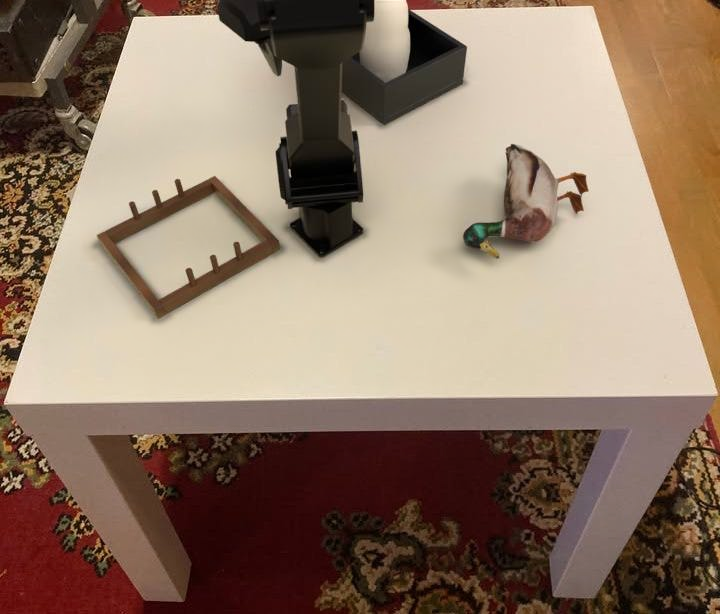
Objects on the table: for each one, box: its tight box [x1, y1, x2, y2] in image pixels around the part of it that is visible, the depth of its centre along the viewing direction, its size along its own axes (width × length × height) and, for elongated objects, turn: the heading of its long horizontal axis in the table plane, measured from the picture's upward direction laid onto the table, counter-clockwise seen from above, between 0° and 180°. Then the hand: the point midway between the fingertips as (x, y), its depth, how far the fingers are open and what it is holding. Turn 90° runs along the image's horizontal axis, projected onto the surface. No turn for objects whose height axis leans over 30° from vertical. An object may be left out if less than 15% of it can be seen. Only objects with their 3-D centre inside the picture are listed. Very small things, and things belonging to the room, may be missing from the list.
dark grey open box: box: [341, 8, 468, 126], centre depth 101 cm, size 17×15×6 cm
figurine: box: [359, 0, 410, 83], centre depth 98 cm, size 7×8×12 cm
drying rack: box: [96, 175, 281, 319], centre depth 82 cm, size 14×16×4 cm
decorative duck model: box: [462, 143, 590, 260], centre depth 83 cm, size 15×8×15 cm
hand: (309, 59), depth 84 cm, fingers open, 9 cm apart
